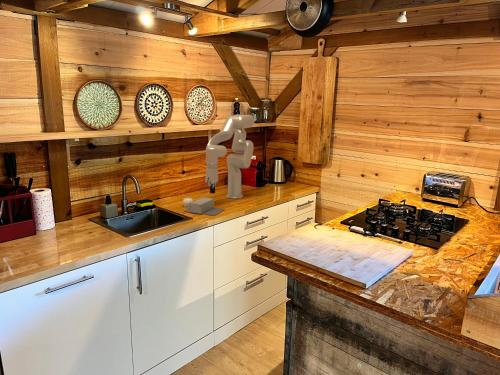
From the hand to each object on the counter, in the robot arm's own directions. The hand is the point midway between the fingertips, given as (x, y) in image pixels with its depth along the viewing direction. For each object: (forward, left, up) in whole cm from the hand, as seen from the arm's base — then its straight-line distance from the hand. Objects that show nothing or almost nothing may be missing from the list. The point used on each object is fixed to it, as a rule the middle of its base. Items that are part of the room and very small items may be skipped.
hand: (212, 193), depth 254 cm
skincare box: (+4, 0, -5) cm, 7 cm away
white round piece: (+6, -15, -9) cm, 19 cm away
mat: (+11, 0, -9) cm, 15 cm away
